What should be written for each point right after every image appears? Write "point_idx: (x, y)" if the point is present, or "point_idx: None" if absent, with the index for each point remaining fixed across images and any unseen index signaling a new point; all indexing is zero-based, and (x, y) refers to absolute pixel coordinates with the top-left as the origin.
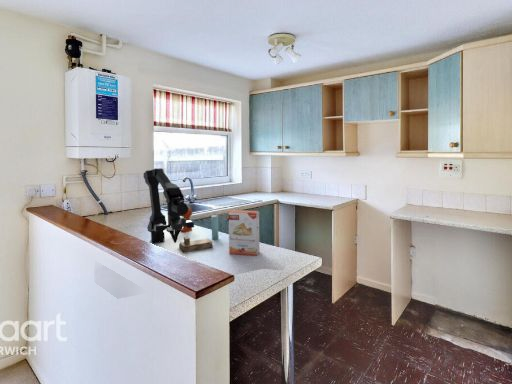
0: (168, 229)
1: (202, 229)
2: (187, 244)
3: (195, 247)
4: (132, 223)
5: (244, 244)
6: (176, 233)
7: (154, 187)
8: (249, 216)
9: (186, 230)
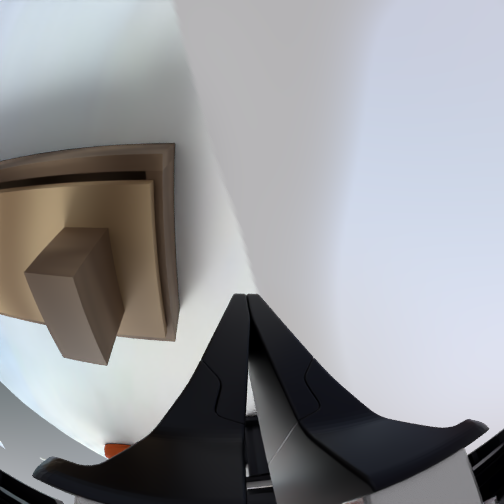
0: (470, 478)
1: (68, 432)
2: (90, 229)
3: (35, 159)
4: (267, 486)
5: None
6: (239, 423)
7: None
8: None
9: (123, 450)
